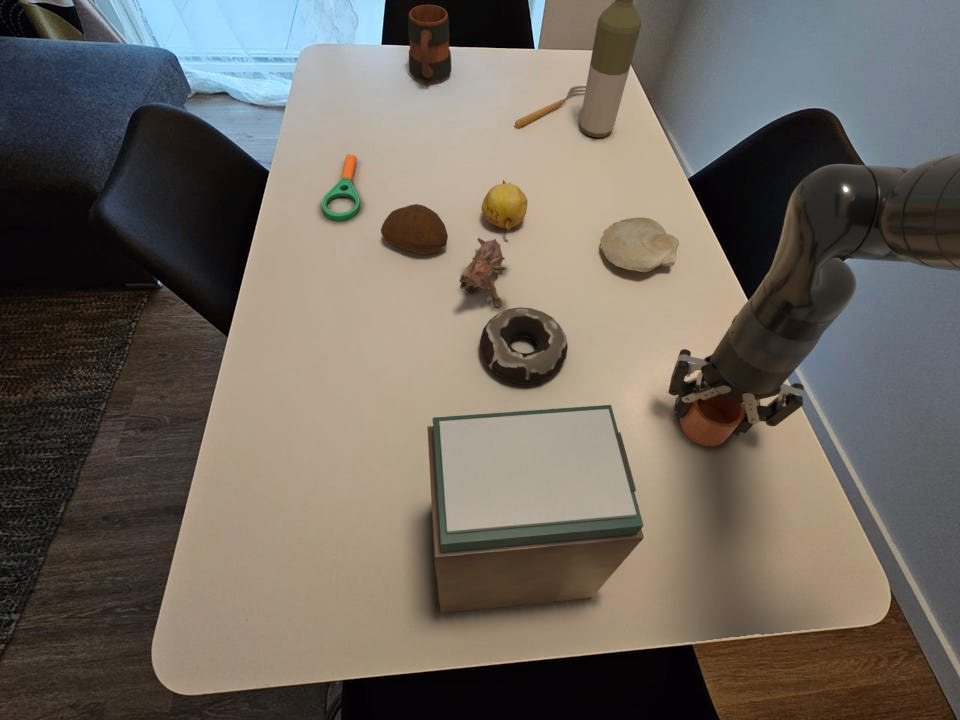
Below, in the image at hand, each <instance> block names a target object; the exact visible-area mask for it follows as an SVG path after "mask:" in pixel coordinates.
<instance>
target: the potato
mask: <svg viewBox="0 0 960 720" xmlns="http://www.w3.org/2000/svg"><path fill="white" fill-rule="evenodd" d="M380 234H381V235H382V237H383V238H384V240H385V241H386V242H388V243H390V244H391V245H393V246H395V247H398V248H400V249H403V250H405V251H406V250H407V251H411V252H414V253H416V254H419V255H428V254H434V253H436V252H438V251H441V250H442V249H444V248H445V247H447V243H448V239H449V234H448V231H447V227H446V225H445V223H444V222H443V220H442V219H441V218H440V216H439V214H438V213H437V212H435V211H434V210H432V209H431V208H429V207H427V206H426V205H422V204H418V203H414V204H409V205H407V206H403V207H400V208H397V209H394V210H393V211H391V212H390V213H389V214H388V215H387V217H386V218H385V219H384V220H383V223H382V226H381V228H380Z"/></svg>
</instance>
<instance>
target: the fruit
mask: <svg viewBox="0 0 960 720" xmlns="http://www.w3.org/2000/svg"><path fill="white" fill-rule="evenodd" d="M527 210H528V198H527V196H526V194H525V192H524V191H523V190H521V189H520V187H519V186H518V185H516V184H514V183H513V184H512V182H511V181H510V182H506V181H505V179H502V183H500V184H495V185H494V186H492V187H491V188H489V190H488V192H487V193H486V195H485V196H484V198H483V201H482V204H481V212H482V215H483V217H484V218H485V219H486V221H488V223H490V224H492V225H494V226H496V227H499V228H502V229H506V231H507V233H512V230H511V229H512V228H514V227H516V226H518V225H519V224H520V223H521V222H522V221H523V219H524V218H525V217H526V214H527Z"/></svg>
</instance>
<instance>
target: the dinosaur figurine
mask: <svg viewBox="0 0 960 720" xmlns="http://www.w3.org/2000/svg"><path fill="white" fill-rule="evenodd" d="M476 240H477V241H478V243H479V244H480V247H479V248H478V250H476V253H475V254H474V256H473V257H472V258H471V259H472V261H471V262H470V263H469V264H468V266H467V267H466V270H465V271H464V272H462V274H460V279H459V283H460V285H459V288H460V289H461V290H463V289H465V290H467V291H468V292H471V291H472V292H474V291H475V289H476V288H479V287H480V288H481V289H484V290H486V289H487V290H488V291H490V294H491V295H492V297H493V305H494V308H495V309H496V308H499V309H500V308H501V307H503V304H502V303H503V301H502V299H501V297H499V296H498V293H497V288H496V286H495V283H494V282H493V279H494V278H495V279H496V280H497V279H498V276H497V275H503V271H505V270H506V269H507V267H505V266H502V263H503V261H505V260H506V258H505V257H503V253H502V249H501V244H500V243H499V242H498V241H497V239H496V238H494V239H491V240H486V241H485V240H483V239H481V238H479V237H478V238H477V239H476Z"/></svg>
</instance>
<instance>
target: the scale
mask: <svg viewBox="0 0 960 720" xmlns="http://www.w3.org/2000/svg"><path fill="white" fill-rule="evenodd" d="M432 426H433V431H434V447H435V463H436V479H437V495H438V511H439V527H440V544H441V552H453V551H464V550H475V549H486V548H496V547H507V546H518V545H529V544H540V543H550V542H561V541H572V540H583V539H593V538H604V537H615V536H626V535H636V534H637V533H638V532H639V531H640V530H641V529H643V528H644V522H643V519H642V515H641V510H640V508H639V504H638V500H637V497H636V493H635V492H637V489H636V486H635V482H634V478H633V473H632V471H631V467H630V462H629V459H628V456H627V452H626V448H625V445H624V440H623V437H622V434H621V433H622V432H619V429H618V425H617V422H616V418H615V414H614V411H613V407H612V404H604V405H603V404H602V405H590V406H589V405H587V406H576V407H560V408H550V409H549V408H547V409H533V410H518V411H507V412H505V411H504V412H490V413H479V414H477V413H476V414H465V415H451V416H450V415H448V416H438V417H437V416H435V417H434V416H433V417H432Z"/></svg>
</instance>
